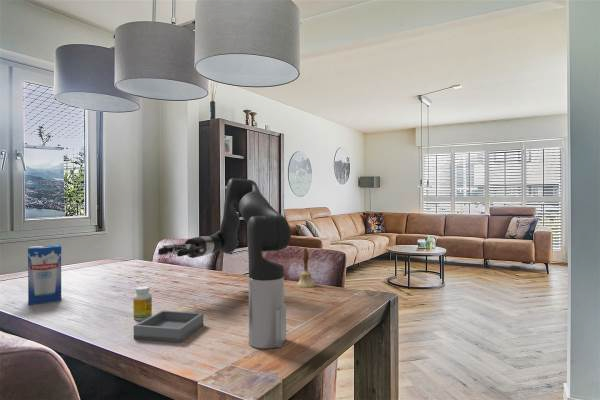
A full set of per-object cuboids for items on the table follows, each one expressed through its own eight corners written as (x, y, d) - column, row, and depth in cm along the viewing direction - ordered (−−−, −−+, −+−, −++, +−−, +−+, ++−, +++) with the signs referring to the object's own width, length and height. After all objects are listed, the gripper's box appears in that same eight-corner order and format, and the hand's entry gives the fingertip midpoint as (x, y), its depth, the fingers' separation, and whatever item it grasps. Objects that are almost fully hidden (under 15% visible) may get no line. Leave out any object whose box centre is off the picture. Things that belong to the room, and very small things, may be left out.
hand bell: (294, 287, 155) (294, 249, 155) (298, 282, 163) (298, 247, 163) (314, 288, 153) (314, 250, 153) (316, 283, 161) (316, 247, 161)
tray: (203, 324, 109) (203, 313, 109) (179, 342, 96) (179, 329, 96) (162, 321, 112) (162, 310, 112) (133, 338, 98) (133, 325, 98)
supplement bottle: (137, 315, 118) (137, 285, 118) (154, 314, 118) (154, 285, 118) (130, 320, 113) (130, 289, 113) (148, 320, 113) (148, 289, 113)
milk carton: (27, 305, 129) (27, 248, 129) (29, 301, 134) (28, 246, 134) (61, 300, 135) (61, 246, 135) (61, 296, 140) (61, 244, 140)
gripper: (185, 235, 143) (152, 240, 128) (214, 237, 137) (184, 242, 123) (185, 255, 143) (152, 261, 129) (214, 257, 137) (184, 265, 123)
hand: (168, 252), depth 126 cm, fingers open, 8 cm apart
